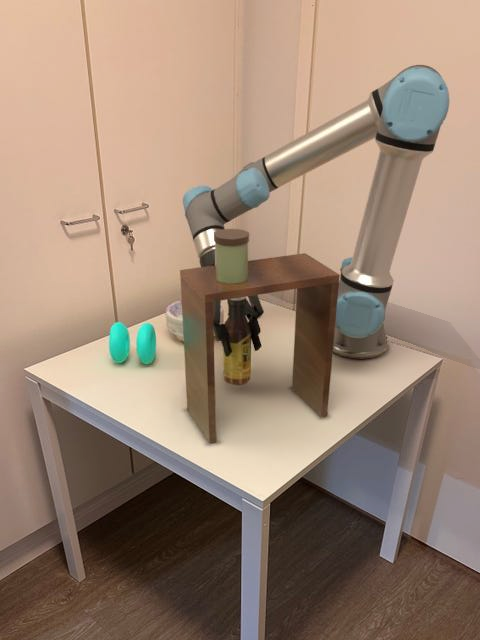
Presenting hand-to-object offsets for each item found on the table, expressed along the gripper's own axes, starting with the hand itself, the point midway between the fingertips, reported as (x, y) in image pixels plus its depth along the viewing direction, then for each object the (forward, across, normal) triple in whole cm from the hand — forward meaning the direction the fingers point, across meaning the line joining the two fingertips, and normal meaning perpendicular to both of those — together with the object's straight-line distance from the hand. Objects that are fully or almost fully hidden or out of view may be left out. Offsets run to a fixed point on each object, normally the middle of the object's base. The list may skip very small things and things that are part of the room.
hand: (243, 351), depth 137 cm
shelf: (+14, 0, -3) cm, 14 cm away
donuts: (-11, +18, -27) cm, 34 cm away
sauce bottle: (+4, 0, -9) cm, 10 cm away
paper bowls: (-16, -1, -33) cm, 36 cm away
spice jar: (-8, +6, +20) cm, 23 cm away
